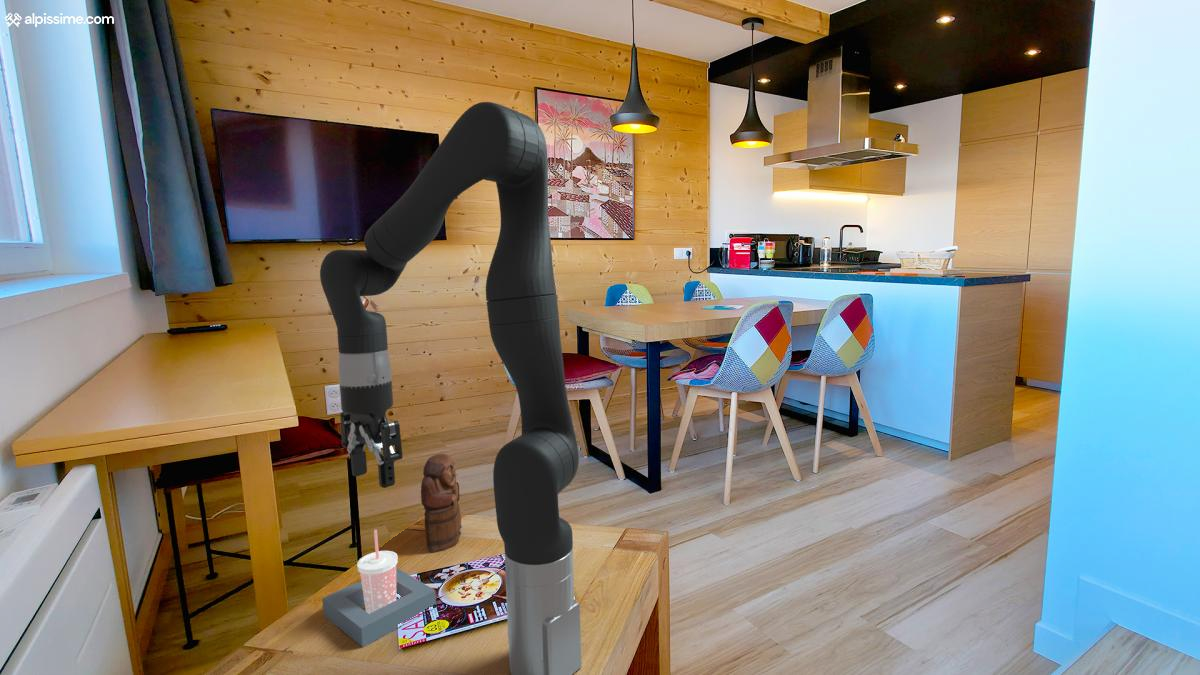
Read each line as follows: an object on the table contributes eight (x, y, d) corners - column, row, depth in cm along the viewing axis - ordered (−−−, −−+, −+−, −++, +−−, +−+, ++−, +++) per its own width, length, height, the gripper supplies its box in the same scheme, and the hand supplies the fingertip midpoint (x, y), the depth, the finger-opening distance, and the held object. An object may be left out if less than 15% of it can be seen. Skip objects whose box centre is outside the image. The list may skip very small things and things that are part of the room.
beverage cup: (408, 602, 95) (402, 522, 93) (389, 624, 89) (383, 540, 87) (374, 600, 96) (368, 521, 94) (353, 622, 90) (346, 538, 88)
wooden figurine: (455, 552, 111) (450, 464, 109) (422, 554, 111) (416, 465, 109) (465, 525, 123) (461, 445, 121) (435, 527, 123) (431, 446, 121)
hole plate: (436, 607, 93) (435, 590, 93) (362, 647, 84) (361, 628, 83) (395, 581, 101) (394, 565, 101) (323, 615, 92) (322, 598, 91)
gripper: (413, 380, 86) (419, 483, 88) (365, 371, 95) (372, 464, 97) (366, 389, 81) (373, 498, 82) (320, 378, 90) (328, 477, 92)
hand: (373, 480), depth 90 cm, fingers open, 8 cm apart
